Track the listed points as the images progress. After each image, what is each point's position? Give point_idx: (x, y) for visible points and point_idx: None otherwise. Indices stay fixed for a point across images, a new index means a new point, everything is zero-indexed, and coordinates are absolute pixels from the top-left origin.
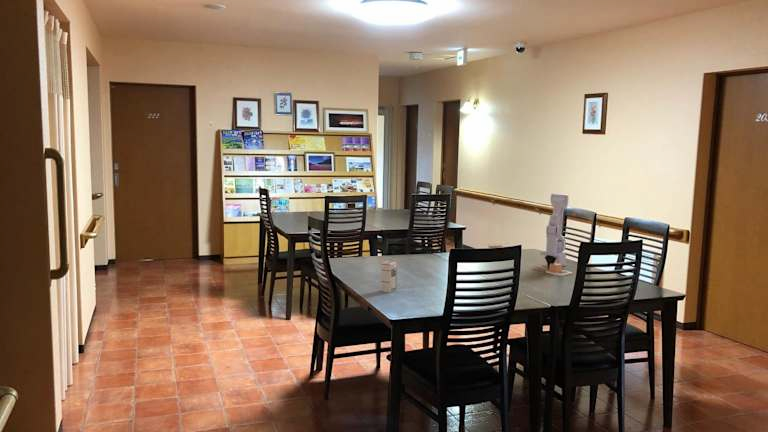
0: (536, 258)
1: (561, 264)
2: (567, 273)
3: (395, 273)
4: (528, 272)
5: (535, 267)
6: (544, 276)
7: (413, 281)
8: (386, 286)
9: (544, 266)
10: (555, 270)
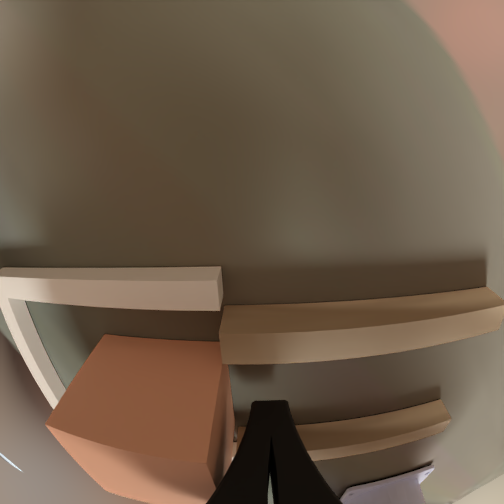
0: (497, 456)
1: (105, 488)
2: (38, 382)
3: None
4: (373, 6)
5: (470, 305)
6: (41, 50)
7: None
8: None
9: (404, 428)
10: (95, 365)
